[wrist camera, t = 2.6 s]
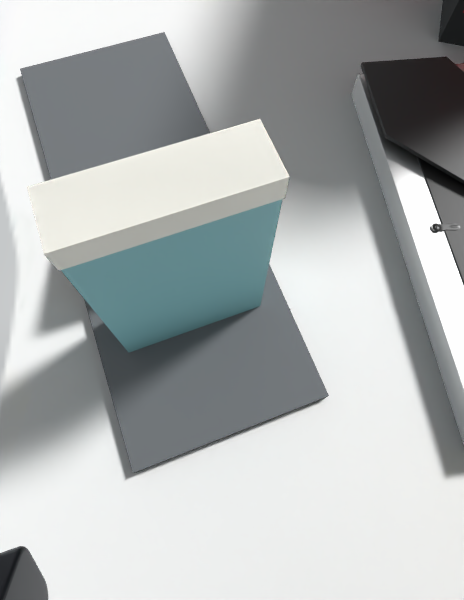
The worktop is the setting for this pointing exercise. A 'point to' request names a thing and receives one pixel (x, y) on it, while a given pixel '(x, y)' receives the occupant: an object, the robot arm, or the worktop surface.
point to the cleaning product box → (452, 22)
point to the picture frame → (423, 190)
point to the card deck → (167, 232)
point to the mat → (193, 344)
